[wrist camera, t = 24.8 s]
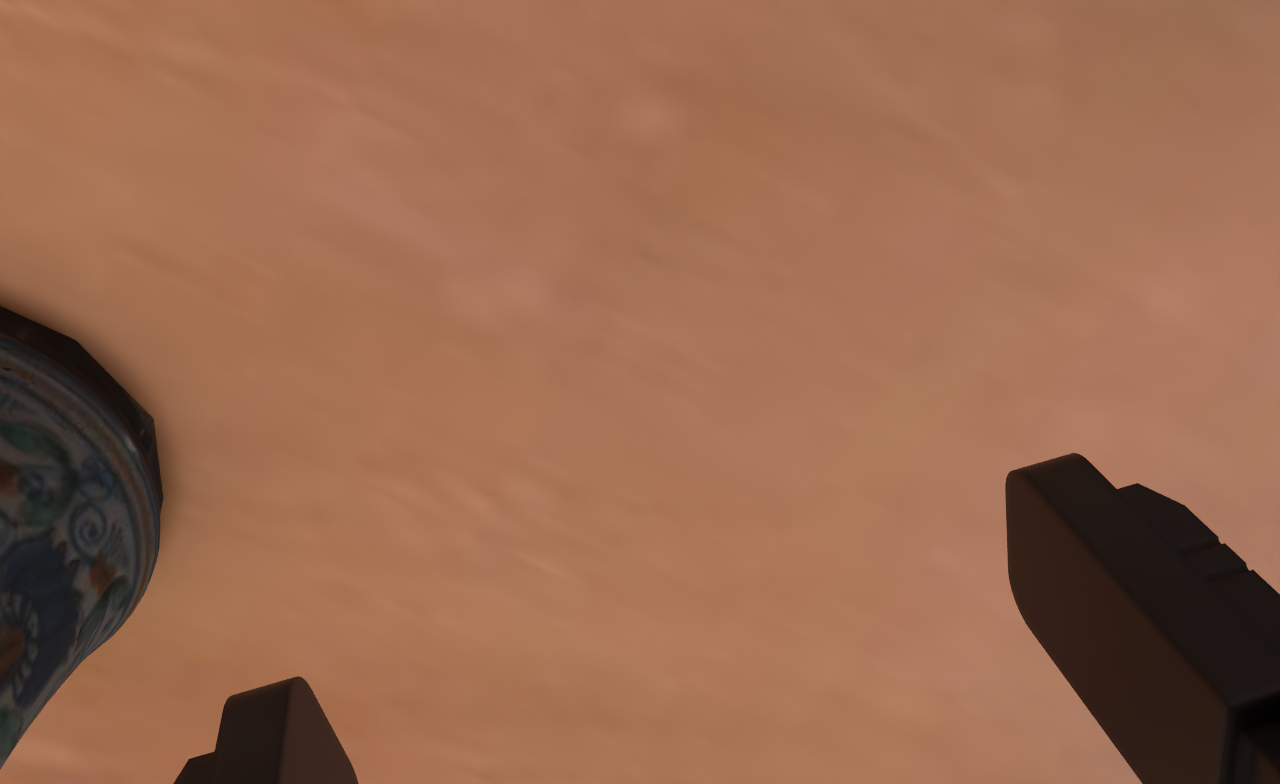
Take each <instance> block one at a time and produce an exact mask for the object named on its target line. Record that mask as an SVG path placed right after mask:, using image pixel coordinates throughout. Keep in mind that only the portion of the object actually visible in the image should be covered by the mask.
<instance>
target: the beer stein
mask: <svg viewBox="0 0 1280 784" xmlns="http://www.w3.org/2000/svg"><path fill="white" fill-rule="evenodd" d="M162 502H163V492H162V484H161V476H160V468H159V460H158V452H157V444H156V436H155V428H154V420H153V418H152V417H151V416H150V415H149V414H148V413H147V412H146V411H145V410H144V409H143V408H142V407H141V406H140V405H139V404H138V403H137V402H136V401H135V400H134V399H133V398H132V397H131V396H130V395H129V394H128V393H127V392H126V391H125V390H124V389H123V388H122V387H121V386H120V385H119V384H118V383H117V382H116V381H115V380H114V379H113V378H112V377H111V376H110V375H109V374H108V373H107V372H106V371H105V370H104V369H103V368H102V367H101V366H100V365H99V364H98V363H97V362H96V361H95V360H94V359H93V358H92V357H91V355H90V354H89V353H88V352H87V351H86V350H85V349H84V348H83V347H82V346H81V345H80V344H79V343H78V342H77V341H75V340H73V339H71V338H69V337H67V336H64V335H62V334H60V333H58V332H56V331H53V330H51V329H49V328H47V327H45V326H42V325H40V324H38V323H36V322H34V321H31V320H29V319H27V318H25V317H23V316H20V315H18V314H16V313H14V312H12V311H9V310H7V309H5V308H3V307H1V306H0V769H1V767H2V766H3V764H4V763H5V761H6V760H7V758H8V757H9V755H10V754H11V752H12V751H13V749H14V748H15V746H16V745H17V743H18V742H19V740H20V739H21V737H22V736H23V735H24V733H25V732H26V730H27V729H28V727H29V726H30V725H31V723H32V722H33V721H34V719H35V718H36V717H37V715H38V714H39V713H40V711H41V710H42V709H43V707H44V706H45V705H46V703H47V702H48V701H49V700H50V698H51V697H52V696H53V695H54V694H55V692H56V691H57V690H58V689H59V687H60V686H61V685H62V684H63V683H64V681H65V680H66V679H67V678H68V677H69V676H70V675H71V673H72V672H73V671H74V670H75V669H76V668H77V666H78V665H79V664H80V663H81V662H82V661H83V660H84V659H85V658H86V657H87V656H88V655H90V654H91V653H92V652H94V651H95V650H96V649H97V648H98V647H100V646H101V645H102V644H103V643H105V642H106V641H107V640H108V639H109V638H111V637H112V636H113V635H114V634H115V633H116V632H117V631H118V630H119V628H120V627H121V626H122V625H123V624H124V623H125V621H126V620H127V619H128V618H129V616H130V615H131V614H132V612H133V611H134V609H135V608H136V606H137V605H138V603H139V601H140V600H141V598H142V597H143V595H144V593H145V591H146V588H147V586H148V584H149V581H150V579H151V576H152V573H153V570H154V567H155V564H156V561H157V556H158V551H159V541H160V511H161V506H162Z"/></svg>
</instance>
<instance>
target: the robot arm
mask: <svg viewBox="0 0 1280 784" xmlns="http://www.w3.org/2000/svg"><path fill="white" fill-rule="evenodd" d="M1005 490H1006V519H1007V549H1008V573H1009V580H1010V585H1011V589H1012V593H1013V596H1014V599H1015V601H1016V604H1017V606H1018V609H1019V611H1020V613H1021V615H1022V617H1023V619H1024V621H1025V622H1026V624H1027V626H1028V627H1029V629H1030V630H1031V631H1032V633H1033V634H1034V636H1035V637H1036V638H1037V640H1038V641H1039V642H1040V644H1041V645H1042V646H1043V648H1044V649H1045V651H1046V652H1047V653H1048V655H1049V656H1050V657H1051V659H1052V660H1053V662H1054V663H1055V664H1056V666H1057V667H1058V668H1059V670H1060V671H1061V672H1062V674H1063V675H1064V677H1065V678H1066V679H1067V681H1068V682H1069V683H1070V685H1071V686H1072V688H1073V689H1074V690H1075V692H1076V693H1077V694H1078V696H1079V697H1080V699H1081V700H1082V701H1083V703H1084V704H1085V705H1086V707H1087V708H1088V709H1089V711H1090V712H1091V714H1092V715H1093V716H1094V718H1095V719H1096V720H1097V722H1098V723H1099V725H1100V726H1101V727H1102V729H1103V730H1104V731H1105V733H1106V734H1107V735H1108V737H1109V738H1110V740H1111V741H1112V742H1113V744H1114V745H1115V746H1116V748H1117V749H1118V751H1119V752H1120V753H1121V755H1122V756H1123V757H1124V759H1125V760H1126V762H1127V763H1128V764H1129V766H1130V767H1131V768H1132V770H1133V771H1134V772H1135V774H1136V775H1137V777H1138V778H1139V779H1140V781H1141V782H1142V783H1143V784H1280V594H1278V593H1277V592H1276V591H1275V590H1274V589H1273V588H1272V587H1271V586H1270V585H1269V584H1268V583H1267V582H1266V581H1265V580H1263V579H1262V578H1261V577H1260V576H1259V575H1258V574H1257V573H1256V572H1255V571H1254V570H1251V571H1249V570H1248V568H1247V566H1246V563H1245V562H1244V561H1243V560H1242V559H1241V558H1240V557H1239V556H1238V555H1237V554H1236V553H1235V552H1234V551H1233V550H1231V549H1230V548H1229V547H1228V546H1227V545H1226V544H1225V543H1224V544H1221V543H1220V542H1219V540H1218V536H1217V535H1215V534H1214V533H1213V532H1212V531H1211V530H1210V529H1209V528H1208V527H1207V526H1206V525H1205V524H1204V523H1203V522H1202V521H1201V520H1199V519H1198V518H1197V517H1196V516H1195V515H1194V514H1193V513H1192V512H1191V511H1190V510H1189V509H1188V508H1187V507H1186V506H1185V505H1182V504H1180V503H1178V502H1176V501H1174V500H1172V499H1170V498H1168V497H1166V496H1163V495H1161V494H1159V493H1157V492H1155V491H1153V490H1151V489H1149V488H1147V487H1144V486H1142V485H1140V484H1138V483H1136V484H1133V485H1130V486H1126V487H1123V488H1119V489H1116V488H1115V487H1114V486H1113V485H1112V484H1111V483H1110V482H1109V481H1108V480H1107V479H1106V478H1105V477H1104V476H1103V475H1102V474H1101V473H1100V472H1099V471H1098V470H1097V469H1096V468H1095V467H1094V466H1093V465H1092V464H1091V463H1090V462H1089V461H1088V460H1087V459H1086V458H1085V457H1083V456H1081V455H1080V454H1077V453H1071V454H1068V455H1065V456H1061V457H1058V458H1054V459H1051V460H1047V461H1044V462H1041V463H1037V464H1034V465H1030V466H1027V467H1023V468H1020V469H1017V470H1013V471H1011V472H1009V474H1008V476H1007V478H1006V488H1005ZM174 784H358V780H357V777H356V774H355V772H354V769H353V767H352V765H351V762H350V761H349V759H348V757H347V755H346V753H345V751H344V749H343V747H342V746H341V744H340V742H339V740H338V738H337V736H336V734H335V732H334V731H333V729H332V727H331V725H330V723H329V721H328V719H327V718H326V716H325V714H324V712H323V710H322V708H321V706H320V704H319V703H318V701H317V699H316V697H315V695H314V693H313V691H312V689H311V688H310V686H309V684H308V683H307V682H306V681H305V680H304V679H303V678H302V677H294V678H290V679H287V680H283V681H280V682H277V683H273V684H270V685H266V686H263V687H259V688H256V689H253V690H249V691H246V692H242V693H239V694H235V695H232V696H230V697H229V698H228V699H227V701H226V703H225V705H224V709H223V713H222V718H221V723H220V728H219V733H218V738H217V743H216V748H215V752H212V753H208V754H205V755H201V756H198V757H195V758H191V759H189V760H188V762H187V763H186V765H185V766H184V768H183V769H182V771H181V773H180V774H179V776H178V777H177V779H176V781H175V782H174Z"/></svg>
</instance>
